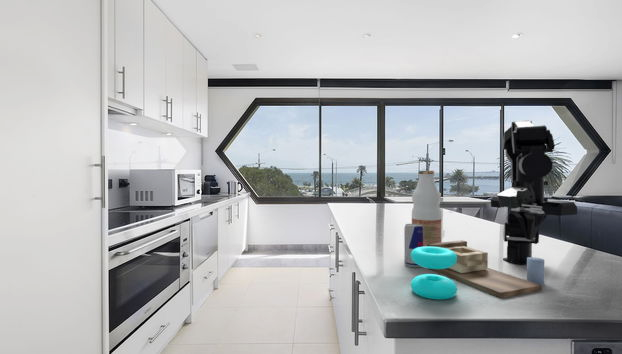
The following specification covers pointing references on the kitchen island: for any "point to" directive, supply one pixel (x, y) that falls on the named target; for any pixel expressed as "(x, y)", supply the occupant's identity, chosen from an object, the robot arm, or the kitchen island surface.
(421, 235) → the energy drink
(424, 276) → the donuts
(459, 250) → the open box
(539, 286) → the board
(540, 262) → the light blue cylinder
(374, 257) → the kitchen island surface
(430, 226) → the fruit juice
